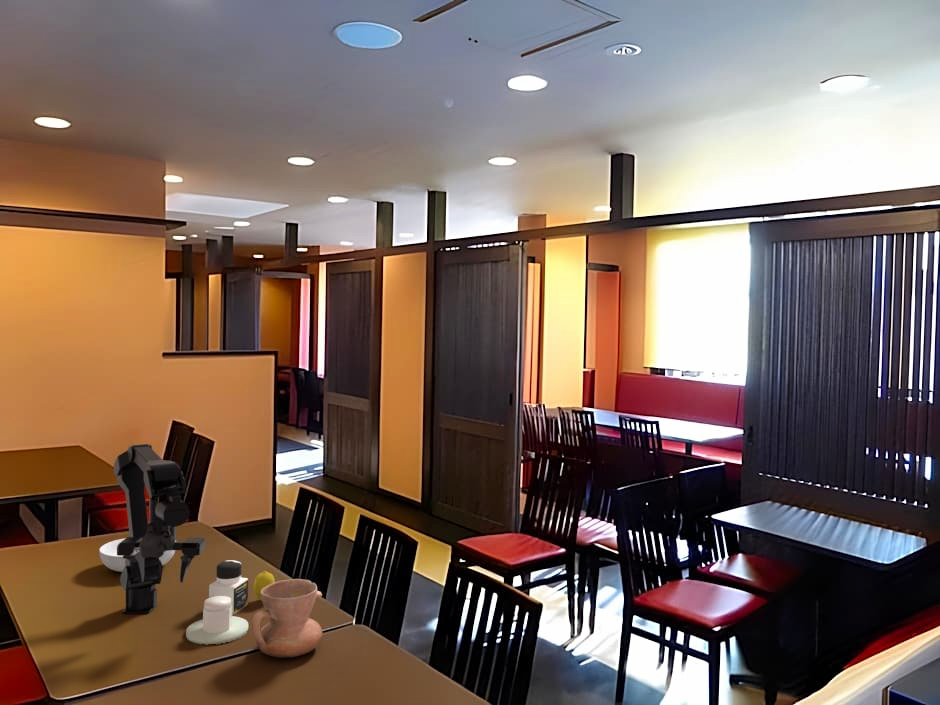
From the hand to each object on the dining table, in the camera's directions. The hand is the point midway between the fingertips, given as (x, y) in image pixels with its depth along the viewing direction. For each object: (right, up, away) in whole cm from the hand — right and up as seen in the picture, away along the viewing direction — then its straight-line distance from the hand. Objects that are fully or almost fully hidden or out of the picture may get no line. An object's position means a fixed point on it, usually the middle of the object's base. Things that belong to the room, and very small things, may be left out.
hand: (161, 582), depth 170 cm
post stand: (+13, -12, +2) cm, 18 cm away
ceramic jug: (+31, -13, -7) cm, 35 cm away
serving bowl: (-26, -10, +44) cm, 52 cm away
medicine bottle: (+11, -12, +15) cm, 22 cm away
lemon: (+18, -12, +21) cm, 30 cm away
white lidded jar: (+13, -11, +1) cm, 17 cm away
